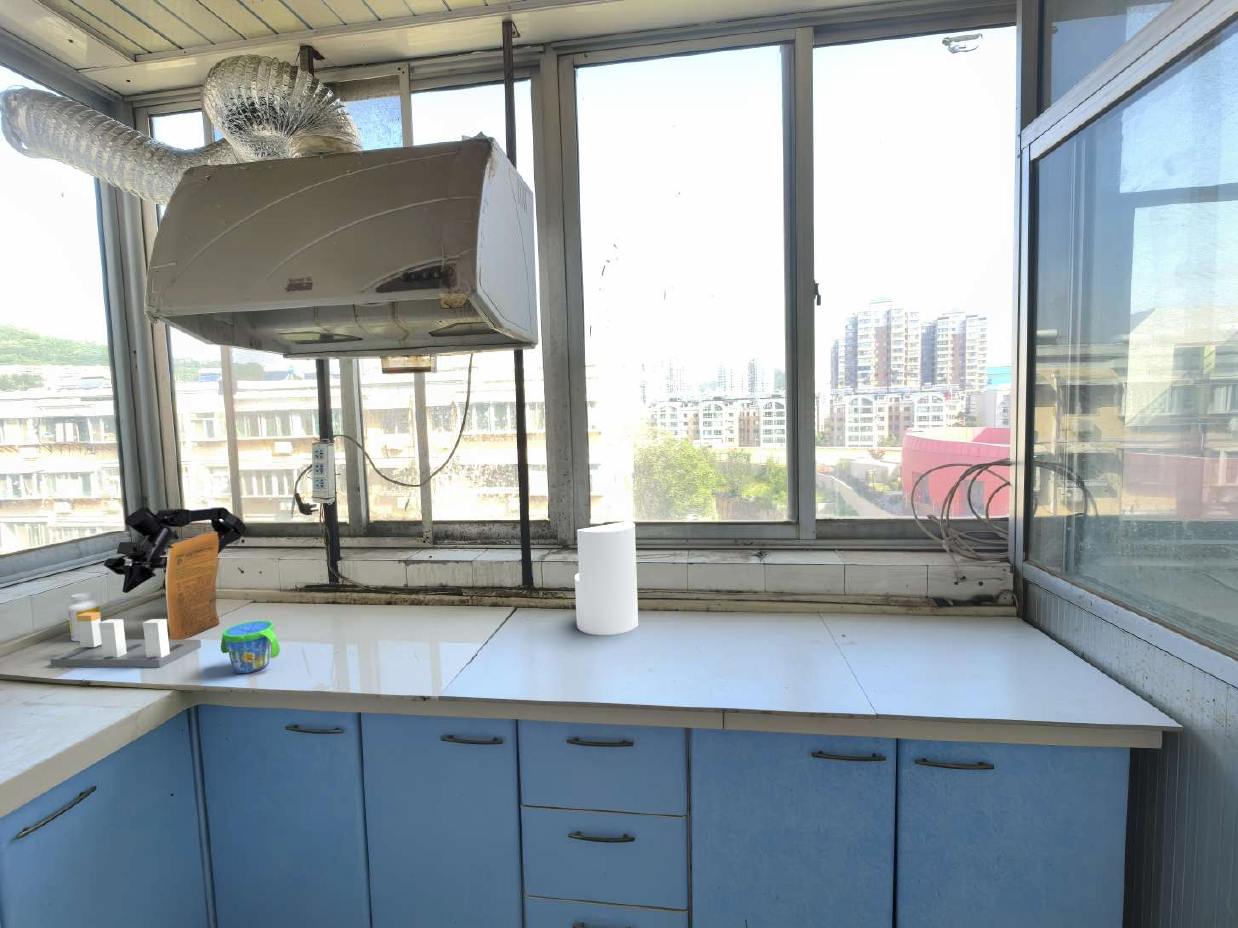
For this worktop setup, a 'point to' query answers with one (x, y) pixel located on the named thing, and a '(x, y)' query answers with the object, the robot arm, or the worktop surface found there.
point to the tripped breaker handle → (89, 629)
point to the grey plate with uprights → (129, 648)
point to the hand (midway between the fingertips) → (124, 592)
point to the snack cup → (250, 645)
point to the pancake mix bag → (192, 585)
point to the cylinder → (607, 579)
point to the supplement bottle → (80, 610)
